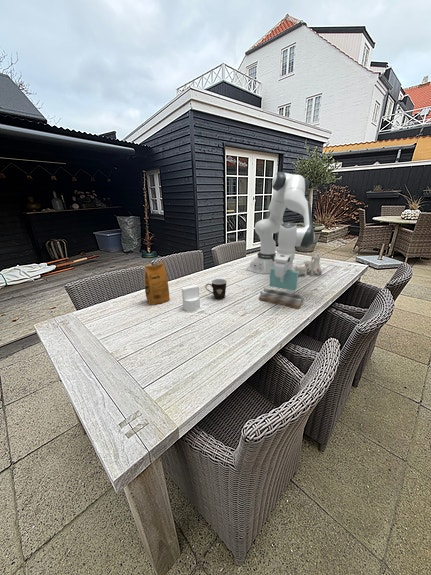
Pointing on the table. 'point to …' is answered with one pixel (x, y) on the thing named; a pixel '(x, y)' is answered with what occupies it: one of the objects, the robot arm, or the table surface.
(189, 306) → the base with upright slab
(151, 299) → the coffee package
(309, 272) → the chinaware
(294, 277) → the door panel
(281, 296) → the bottom track
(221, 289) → the coffee mug
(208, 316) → the table surface
